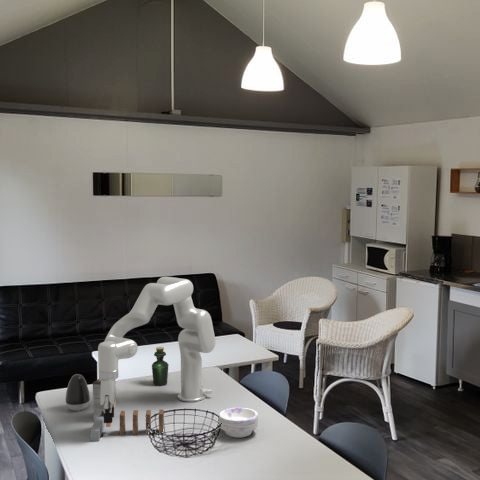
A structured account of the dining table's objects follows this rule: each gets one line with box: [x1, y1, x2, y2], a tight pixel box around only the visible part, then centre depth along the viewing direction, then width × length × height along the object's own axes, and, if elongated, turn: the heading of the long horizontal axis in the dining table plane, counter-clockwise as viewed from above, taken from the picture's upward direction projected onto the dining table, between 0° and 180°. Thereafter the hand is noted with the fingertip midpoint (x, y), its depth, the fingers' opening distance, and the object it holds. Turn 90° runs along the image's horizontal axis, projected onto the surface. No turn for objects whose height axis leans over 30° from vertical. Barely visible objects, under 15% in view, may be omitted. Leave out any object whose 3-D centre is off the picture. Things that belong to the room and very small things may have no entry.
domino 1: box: [105, 403, 112, 428], centre depth 235 cm, size 2×5×8 cm, turn 5°
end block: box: [90, 417, 105, 442], centre depth 235 cm, size 3×14×4 cm, turn 5°
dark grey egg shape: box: [64, 373, 91, 412], centre depth 261 cm, size 10×10×15 cm
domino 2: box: [119, 410, 126, 437], centre depth 236 cm, size 2×5×8 cm, turn 5°
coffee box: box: [92, 378, 117, 421], centre depth 251 cm, size 9×6×16 cm
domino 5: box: [158, 408, 165, 433], centre depth 237 cm, size 2×5×8 cm, turn 5°
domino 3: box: [132, 409, 139, 436], centre depth 236 cm, size 2×5×8 cm, turn 5°
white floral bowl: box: [218, 407, 259, 439], centre depth 235 cm, size 15×15×8 cm
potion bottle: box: [151, 346, 169, 387], centre depth 294 cm, size 8×8×18 cm
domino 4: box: [145, 409, 152, 436], centre depth 236 cm, size 2×5×8 cm, turn 5°
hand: (109, 419), depth 235 cm, fingers closed on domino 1, 4 cm apart
